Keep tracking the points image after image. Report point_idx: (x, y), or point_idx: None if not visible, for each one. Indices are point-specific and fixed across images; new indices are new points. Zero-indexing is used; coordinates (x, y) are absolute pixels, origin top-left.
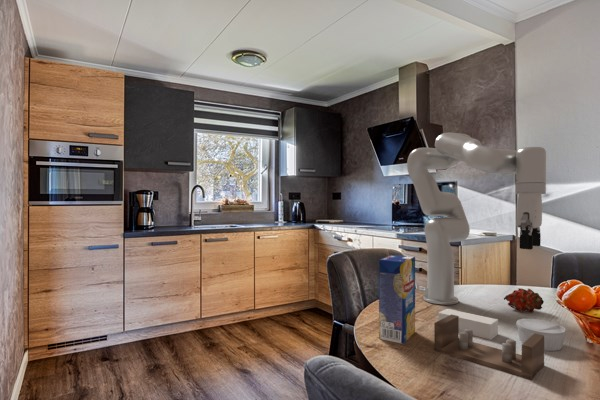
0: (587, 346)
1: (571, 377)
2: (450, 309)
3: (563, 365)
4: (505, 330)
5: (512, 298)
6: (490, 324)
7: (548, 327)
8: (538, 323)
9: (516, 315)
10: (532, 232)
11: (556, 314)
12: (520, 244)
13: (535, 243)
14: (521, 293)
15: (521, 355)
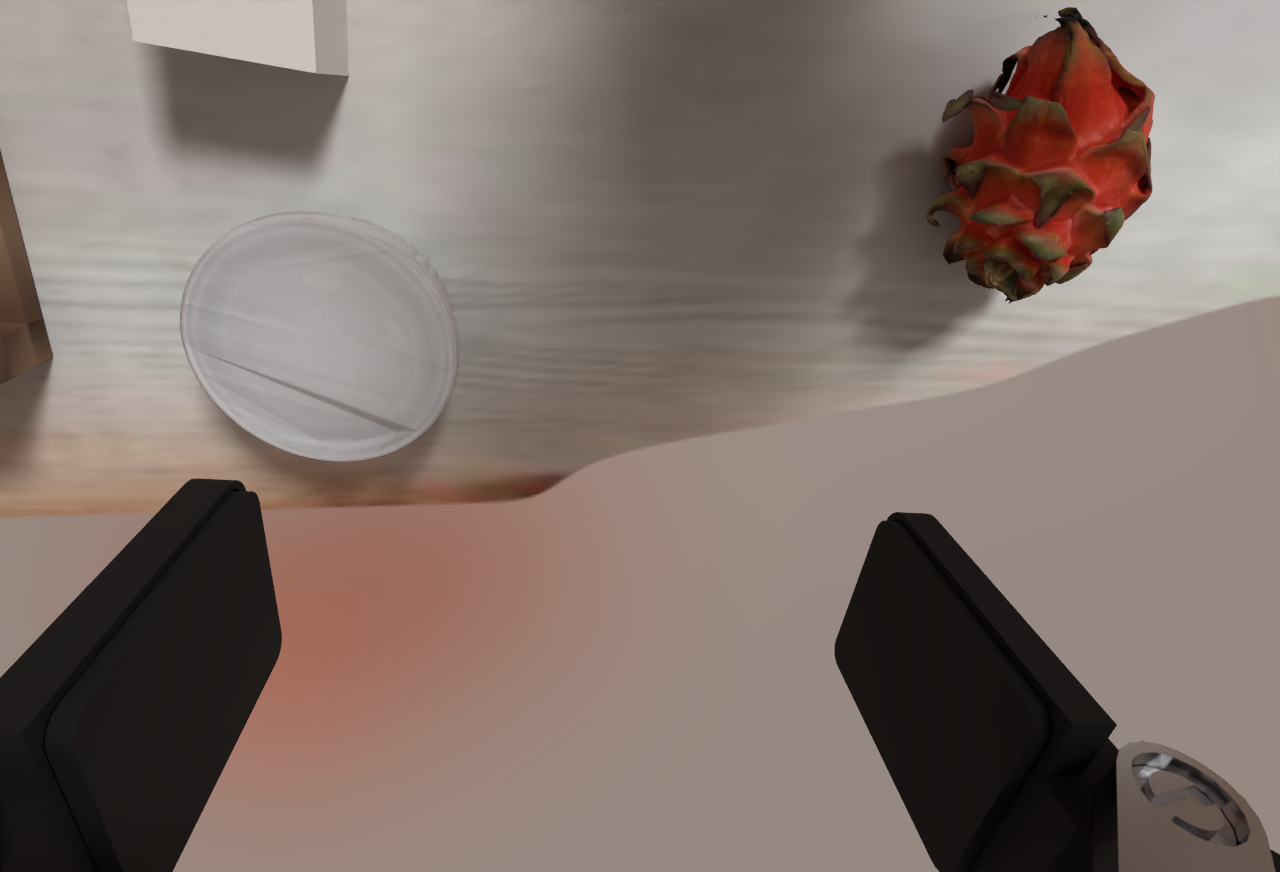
0: (493, 481)
1: (24, 453)
2: None
3: (140, 421)
4: (464, 109)
5: (1034, 86)
6: (134, 38)
7: (318, 390)
8: (353, 338)
9: (858, 130)
10: (1027, 807)
11: (983, 339)
12: (151, 537)
13: (863, 638)
14: (1051, 162)
15: (1, 265)
